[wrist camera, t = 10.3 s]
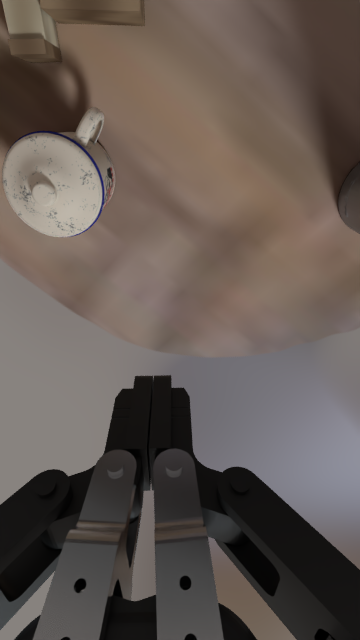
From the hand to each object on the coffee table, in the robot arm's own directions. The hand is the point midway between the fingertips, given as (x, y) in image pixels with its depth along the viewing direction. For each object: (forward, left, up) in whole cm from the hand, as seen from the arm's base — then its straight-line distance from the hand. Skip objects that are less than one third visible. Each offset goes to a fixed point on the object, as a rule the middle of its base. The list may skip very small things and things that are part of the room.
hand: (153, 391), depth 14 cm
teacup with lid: (+9, -6, -31) cm, 32 cm away
